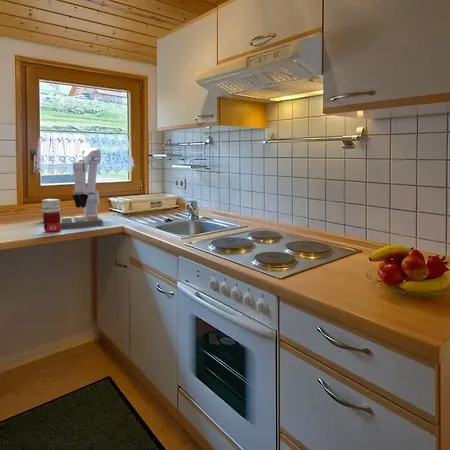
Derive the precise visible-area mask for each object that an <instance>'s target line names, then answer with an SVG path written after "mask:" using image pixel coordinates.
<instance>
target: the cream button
mask: <svg viewBox="0 0 450 450" xmlns="http://www.w3.org/2000/svg"><path fill="white" fill-rule="evenodd" d="M74 219H75V221H82V220H85V217H84V215H75V216H74Z"/></svg>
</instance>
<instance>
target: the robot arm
mask: <svg viewBox="0 0 450 450" xmlns="http://www.w3.org/2000/svg"><path fill="white" fill-rule="evenodd" d="M81 153H82V155H81V156H80V157H79V158H78V159H77V160H76V161H75V162H73V164H72V170H73V175H74V190H72V193H73V195H71V197H72V199H73V201H74V204H75V208H77V209H79V208H83V216H84V217H85V218H88V215H97V217H98V205H99V204H100V200H101V199H100V193H99V191H98V190H97V189H96V185H97V184H96V181H97V173H98V169H97V168H98V165H99V164H101V159H102V153H101V149H100V148H98V147H97V148H95V147H93V148H91V147H90V148H89V147H87V148H85V147H84V148H83V149H82V152H81ZM86 172H88V173H87V175H86ZM86 180H87V181H86ZM86 182H87V183H86ZM98 218H99V217H98Z"/></svg>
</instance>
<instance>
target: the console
mask: <svg viewBox="0 0 450 450" xmlns="http://www.w3.org/2000/svg"><path fill="white" fill-rule="evenodd" d="M71 219H72V221H70V222H62V219H61V220H60V225H61V229H62V230H64V229H75V228H84V227H85V228H86V227H97V226H98V227H99V226H103V224H104V223H103V222H104V220H103V219H101V218H100V217H97V219H95V220H88V218H85V220H82V221H75V218H71Z"/></svg>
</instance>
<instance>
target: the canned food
mask: <svg viewBox="0 0 450 450" xmlns="http://www.w3.org/2000/svg"><path fill="white" fill-rule="evenodd" d="M60 214H61V210H60V211H59V210H56V209H53V210H44V211H42V220H44V221H43V229H44V230H43V231H44V232H45V233H47V234H48V233H49V234H51V233H52V234H53V233H59V232H61V225H60Z"/></svg>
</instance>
